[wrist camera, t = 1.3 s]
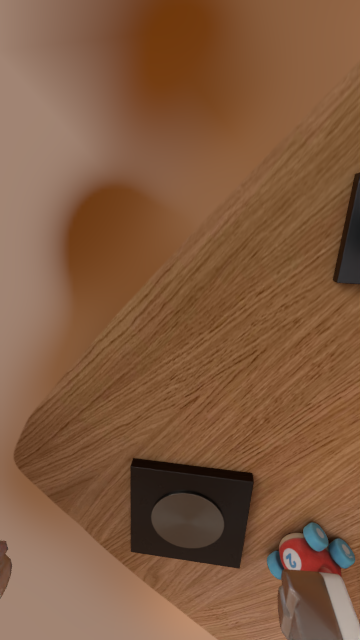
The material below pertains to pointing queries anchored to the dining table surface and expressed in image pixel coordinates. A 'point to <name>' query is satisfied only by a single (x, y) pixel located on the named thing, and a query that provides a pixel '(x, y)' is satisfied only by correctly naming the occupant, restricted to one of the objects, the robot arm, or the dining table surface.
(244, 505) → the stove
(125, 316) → the dining table surface
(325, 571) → the toy car
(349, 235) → the black peg stand
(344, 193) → the dining table surface
